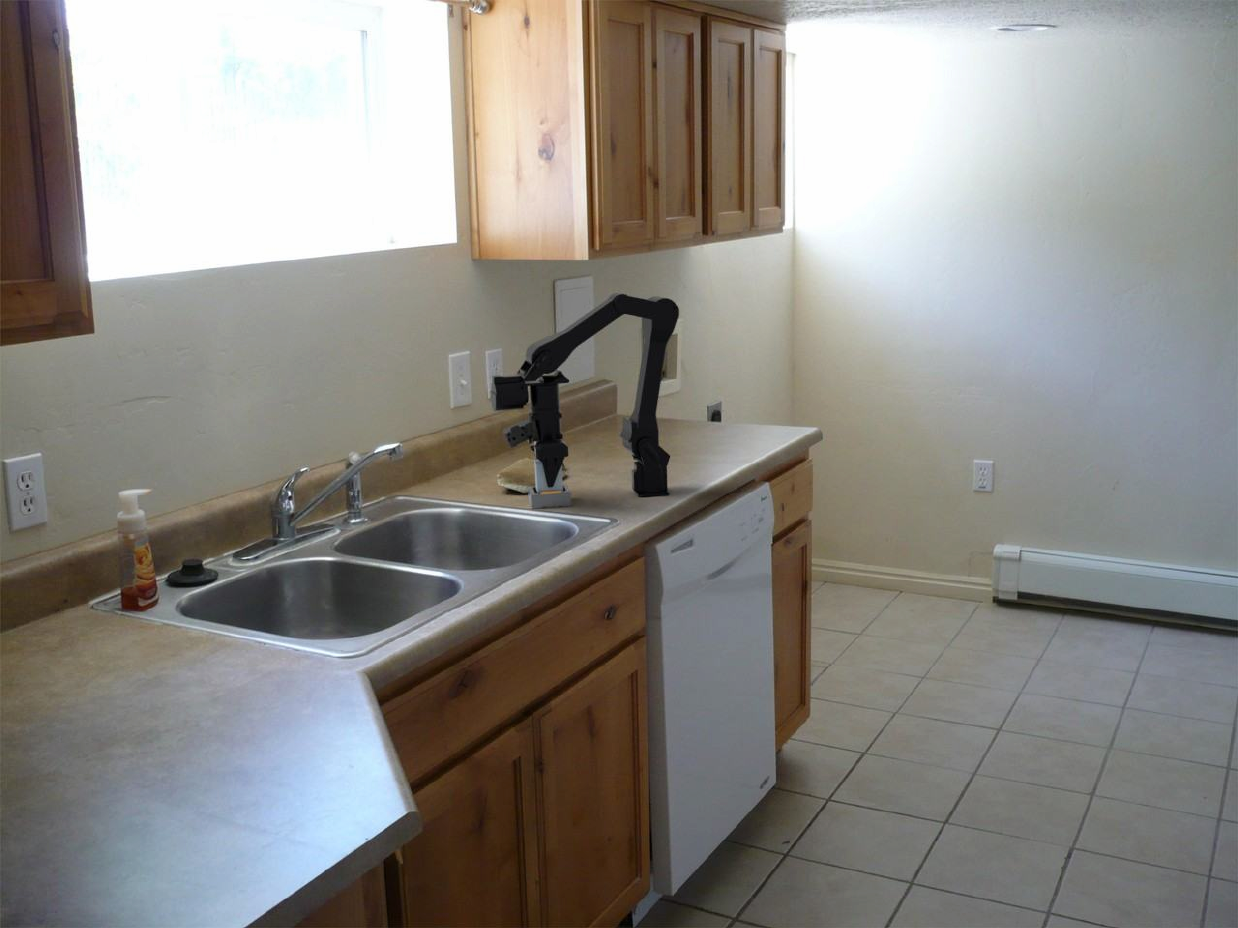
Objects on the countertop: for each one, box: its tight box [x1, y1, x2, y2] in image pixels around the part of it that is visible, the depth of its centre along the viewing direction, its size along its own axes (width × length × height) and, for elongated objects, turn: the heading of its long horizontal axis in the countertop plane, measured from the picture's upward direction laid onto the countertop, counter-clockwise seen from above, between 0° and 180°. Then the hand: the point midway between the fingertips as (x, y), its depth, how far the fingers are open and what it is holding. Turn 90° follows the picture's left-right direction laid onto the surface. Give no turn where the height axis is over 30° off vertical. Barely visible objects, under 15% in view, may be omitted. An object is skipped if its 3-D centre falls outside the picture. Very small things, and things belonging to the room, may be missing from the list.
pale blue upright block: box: [533, 459, 564, 493], centre depth 241 cm, size 5×4×6 cm
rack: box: [527, 483, 572, 509], centre depth 241 cm, size 8×7×3 cm
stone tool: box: [496, 457, 567, 494], centre depth 261 cm, size 12×4×25 cm
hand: (549, 484), depth 241 cm, fingers closed on pale blue upright block, 4 cm apart
